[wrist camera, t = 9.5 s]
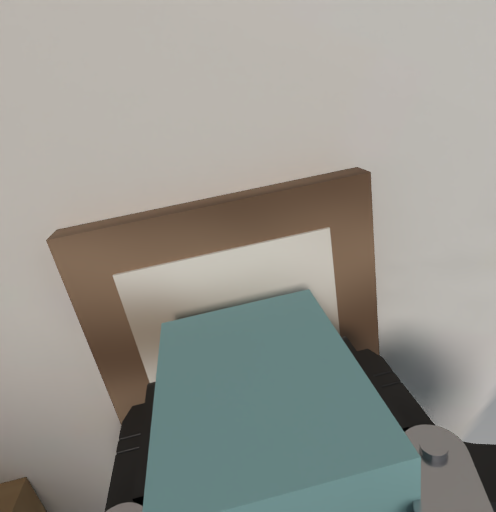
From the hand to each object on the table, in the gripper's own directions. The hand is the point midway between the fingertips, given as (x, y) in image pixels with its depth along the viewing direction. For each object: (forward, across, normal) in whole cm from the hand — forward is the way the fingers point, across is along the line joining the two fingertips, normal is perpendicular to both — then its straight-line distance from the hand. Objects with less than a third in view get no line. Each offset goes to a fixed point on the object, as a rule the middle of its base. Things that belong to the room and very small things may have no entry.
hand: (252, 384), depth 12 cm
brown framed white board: (+3, 0, 0) cm, 3 cm away
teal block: (+1, 0, 0) cm, 1 cm away
